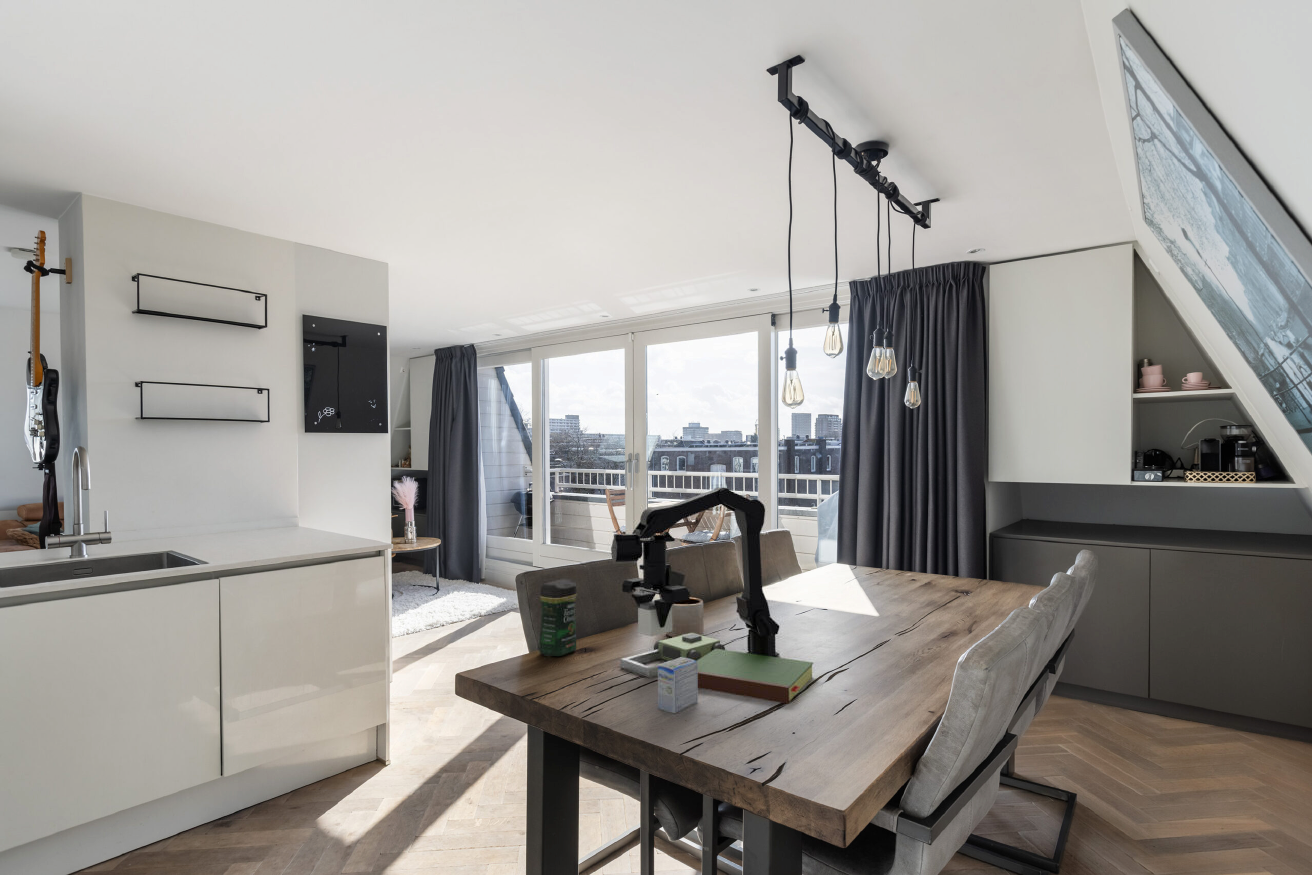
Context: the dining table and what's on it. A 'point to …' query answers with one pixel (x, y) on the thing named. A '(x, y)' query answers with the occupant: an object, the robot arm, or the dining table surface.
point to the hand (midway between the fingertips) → (655, 625)
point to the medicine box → (677, 684)
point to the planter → (687, 617)
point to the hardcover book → (753, 675)
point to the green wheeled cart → (687, 646)
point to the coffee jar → (558, 618)
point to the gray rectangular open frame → (636, 664)
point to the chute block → (652, 620)
